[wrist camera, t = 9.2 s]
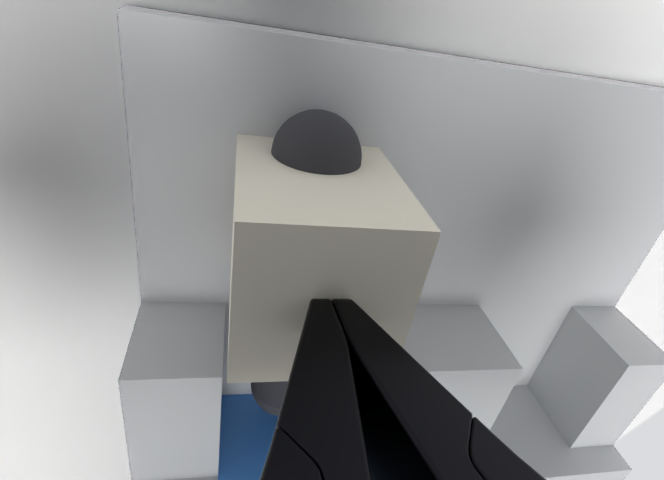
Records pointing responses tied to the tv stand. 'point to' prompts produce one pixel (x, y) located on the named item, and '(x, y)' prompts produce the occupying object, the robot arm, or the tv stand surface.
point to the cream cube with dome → (317, 243)
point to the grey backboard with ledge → (441, 205)
